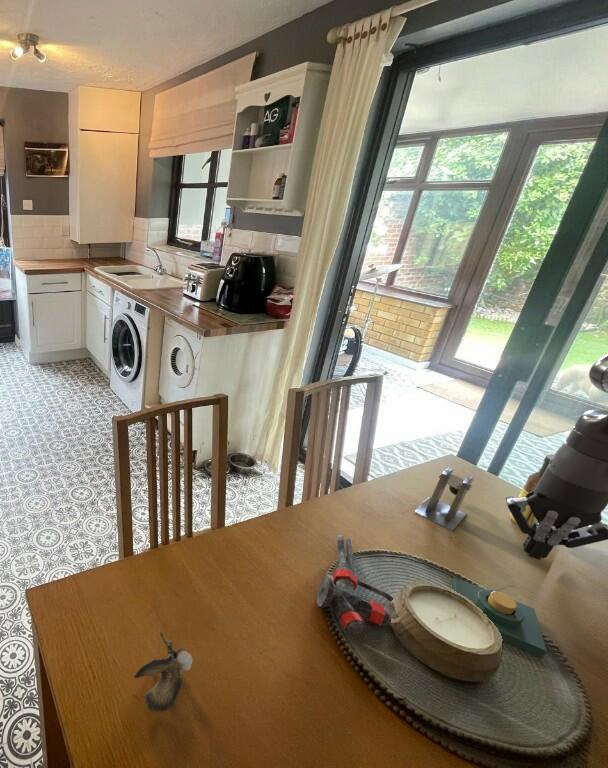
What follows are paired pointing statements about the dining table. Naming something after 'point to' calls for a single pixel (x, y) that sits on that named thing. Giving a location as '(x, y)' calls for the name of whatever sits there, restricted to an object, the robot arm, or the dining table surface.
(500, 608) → the button
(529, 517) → the sauce bottle
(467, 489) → the grey metal stand
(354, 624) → the valve
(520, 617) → the green button base
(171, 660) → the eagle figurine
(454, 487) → the lever handle
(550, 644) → the dining table surface
